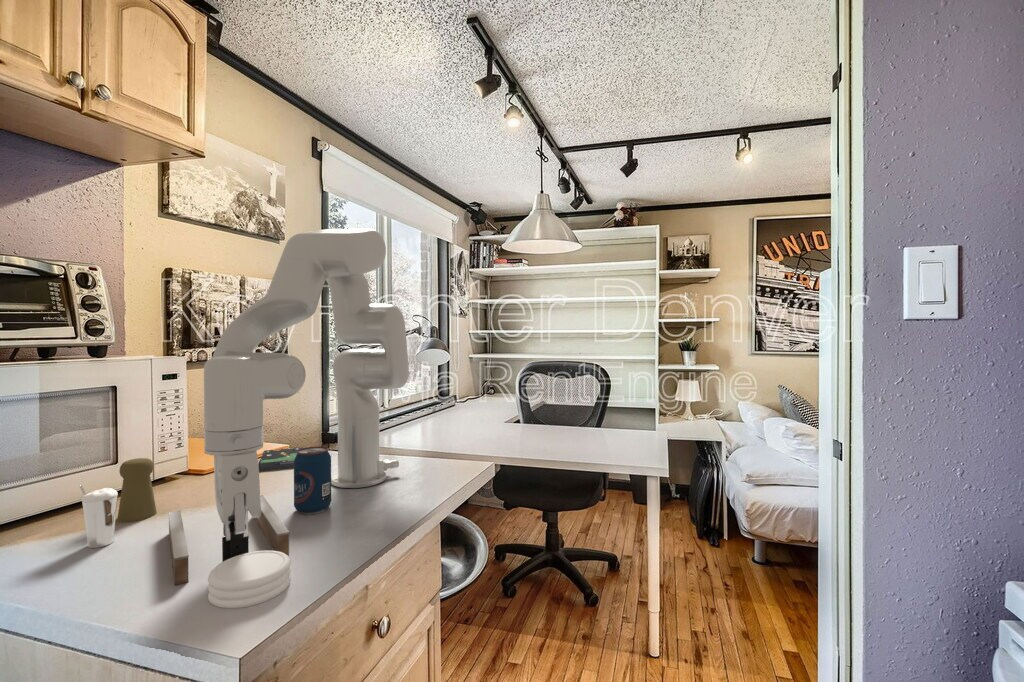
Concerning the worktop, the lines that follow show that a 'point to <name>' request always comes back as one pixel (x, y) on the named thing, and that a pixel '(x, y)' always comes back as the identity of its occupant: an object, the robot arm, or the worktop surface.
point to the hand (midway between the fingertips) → (235, 562)
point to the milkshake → (99, 516)
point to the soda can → (312, 480)
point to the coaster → (249, 579)
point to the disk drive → (277, 459)
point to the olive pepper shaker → (136, 491)
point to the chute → (267, 521)
